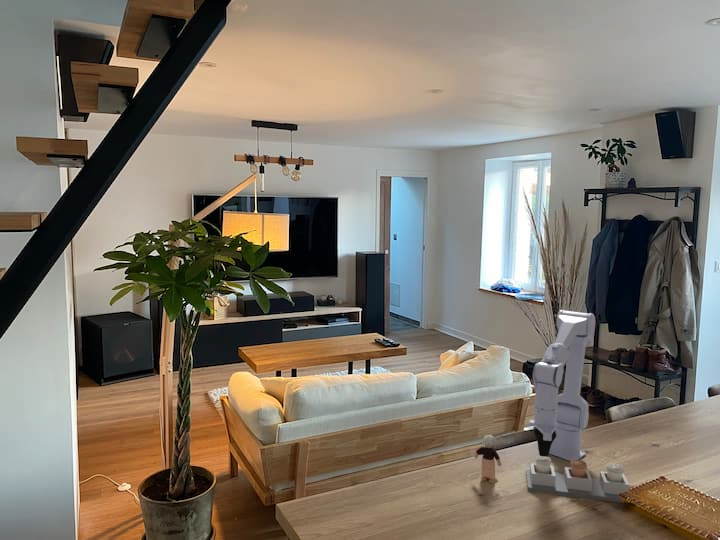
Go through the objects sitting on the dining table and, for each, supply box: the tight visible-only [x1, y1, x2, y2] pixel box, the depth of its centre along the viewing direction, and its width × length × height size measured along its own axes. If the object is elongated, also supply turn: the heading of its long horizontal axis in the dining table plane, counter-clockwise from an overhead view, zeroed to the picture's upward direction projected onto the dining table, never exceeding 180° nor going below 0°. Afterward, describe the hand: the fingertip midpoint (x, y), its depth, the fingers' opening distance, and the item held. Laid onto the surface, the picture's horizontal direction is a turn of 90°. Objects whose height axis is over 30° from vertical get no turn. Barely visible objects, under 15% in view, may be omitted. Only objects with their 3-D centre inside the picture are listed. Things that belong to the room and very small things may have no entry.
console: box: [525, 462, 631, 504], centre depth 145 cm, size 26×10×4 cm, turn 76°
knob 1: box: [534, 455, 552, 474], centre depth 147 cm, size 4×4×4 cm
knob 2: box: [606, 463, 624, 483], centre depth 142 cm, size 4×4×4 cm
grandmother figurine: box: [473, 434, 502, 484], centre depth 149 cm, size 8×4×13 cm, turn 65°
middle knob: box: [570, 459, 588, 478], centre depth 145 cm, size 4×4×4 cm
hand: (543, 455), depth 146 cm, fingers closed
